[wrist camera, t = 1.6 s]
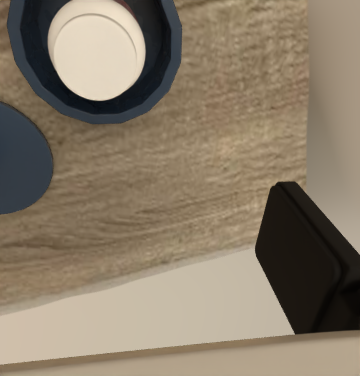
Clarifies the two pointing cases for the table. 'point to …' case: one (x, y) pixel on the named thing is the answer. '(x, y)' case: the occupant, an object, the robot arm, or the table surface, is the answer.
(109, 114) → the tin
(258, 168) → the table surface
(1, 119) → the lid
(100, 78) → the pill bottle
